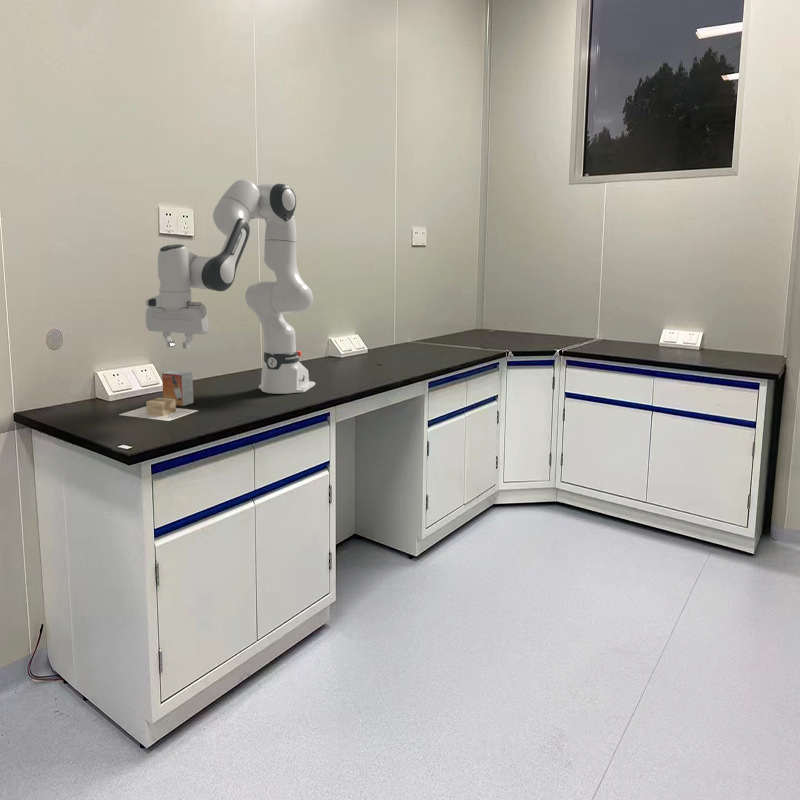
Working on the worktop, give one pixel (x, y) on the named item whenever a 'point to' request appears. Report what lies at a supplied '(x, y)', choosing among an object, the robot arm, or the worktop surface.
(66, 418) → the worktop surface
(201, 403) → the worktop surface
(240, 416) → the worktop surface
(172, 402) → the beech block
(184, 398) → the small box
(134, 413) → the letter
